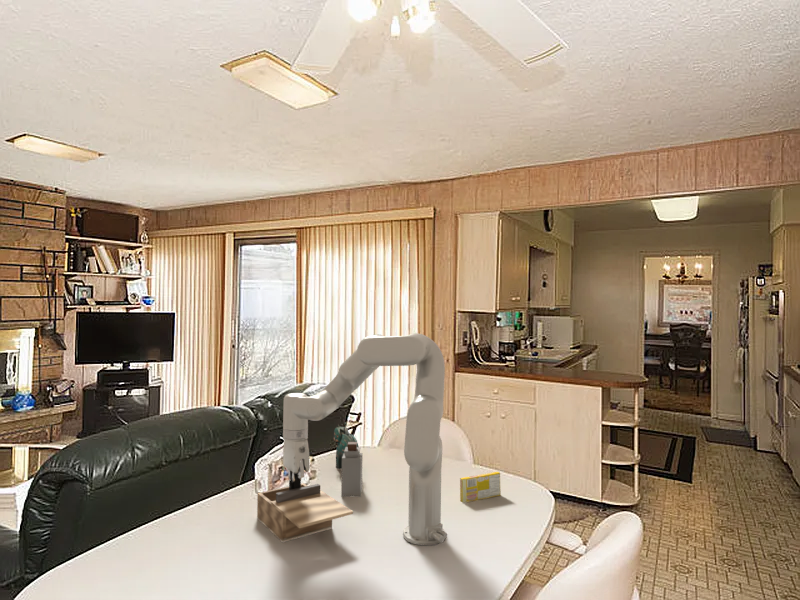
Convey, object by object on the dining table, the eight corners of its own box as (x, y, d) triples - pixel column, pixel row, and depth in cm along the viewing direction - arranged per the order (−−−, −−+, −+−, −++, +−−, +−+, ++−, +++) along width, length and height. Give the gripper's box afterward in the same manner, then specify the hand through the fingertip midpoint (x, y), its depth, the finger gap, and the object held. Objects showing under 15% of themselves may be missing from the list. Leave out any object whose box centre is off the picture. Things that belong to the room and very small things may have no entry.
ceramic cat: (331, 466, 217) (332, 418, 217) (346, 464, 220) (347, 417, 220) (349, 481, 199) (350, 429, 200) (365, 479, 202) (365, 427, 202)
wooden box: (332, 528, 158) (332, 502, 158) (282, 542, 149) (282, 514, 149) (303, 506, 174) (303, 483, 174) (257, 518, 165) (257, 493, 165)
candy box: (497, 494, 188) (497, 471, 188) (500, 496, 187) (501, 472, 187) (459, 501, 181) (459, 477, 181) (462, 503, 179) (463, 479, 179)
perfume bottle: (360, 496, 184) (360, 445, 184) (341, 496, 184) (341, 445, 184) (362, 489, 191) (362, 440, 191) (343, 489, 191) (344, 440, 191)
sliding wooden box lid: (352, 514, 149) (352, 502, 149) (299, 528, 139) (299, 516, 139) (320, 492, 165) (320, 482, 165) (270, 504, 155) (270, 493, 155)
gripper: (317, 437, 157) (316, 497, 157) (296, 427, 169) (295, 483, 169) (294, 440, 153) (293, 503, 153) (274, 430, 165) (274, 488, 165)
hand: (294, 492), depth 161 cm, fingers closed
